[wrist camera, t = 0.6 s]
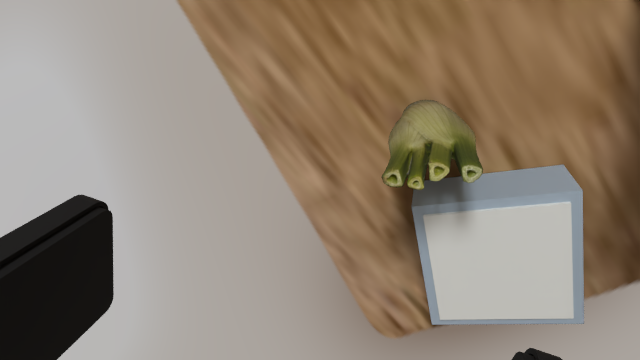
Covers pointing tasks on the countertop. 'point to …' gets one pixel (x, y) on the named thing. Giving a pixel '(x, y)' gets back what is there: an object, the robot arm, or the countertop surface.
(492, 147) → the countertop surface
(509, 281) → the base block
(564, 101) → the countertop surface
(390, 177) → the fennel bulb
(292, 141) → the countertop surface
